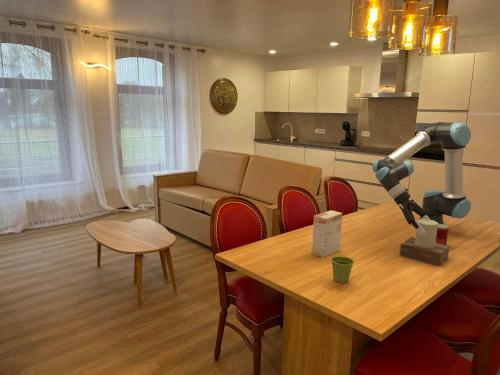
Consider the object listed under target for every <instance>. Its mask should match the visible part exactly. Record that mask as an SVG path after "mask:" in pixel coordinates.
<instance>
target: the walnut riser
mask: <svg viewBox="0 0 500 375" xmlns="http://www.w3.org/2000/svg"><path fill="white" fill-rule="evenodd" d="M415 238H416V237H412V236H411V237H409V238H408V239H406V240H405V241H403V242H400V248H399V249H400V250H399V256H401V257H404V258H407V259H411V260H414V261H419V262H422V263H427V264H430V265H434V266H436V267H437V266H438V267H440V266H441V265H442V264H444V262H446V260H448V258H449V252H450V245H447V244H446V245H443V244H438V243H435V247H434V248H424V247H420V246H417V245H415Z"/></svg>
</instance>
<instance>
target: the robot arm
mask: <svg viewBox="0 0 500 375" xmlns="http://www.w3.org/2000/svg"><path fill="white" fill-rule="evenodd" d="M471 139H472V132H471V129H470V127H469V125H467V124H466V123H463V122H446V121H445V122H442V121H438V122H433V123H431V124H429V125H427V126H424V128H421V129H420V130H419V131H418V132H417V133H416V134H415V136H414V137H412V138H411V139H409V140H408V141H407V142H405V143H404V144H402V145H401V146H400V147H398V148H397V149H395V150H394V151H393V152H392V153H390V154H389V155H387V156H386V157H385V158H383V159H376V160H374V162H373V163H372V165H371V168H372V171H373V172H374V173H375V174H374V175H375V178H376V179H377V181H378V183H379V184H380V185H381V186H382V187H383V188H384V190H385V191H386V192H387V193H388V196H389V197H390V198H392V199H393V202H394V203H395V204H396V205H397V206H398V207H399V209H400V210H401V212H402V214H403V216H404V219H405V221H406V222H407V224H408V225H409V226H410V225H412V226H413V228H414V229H415V231H416V230H417V232H418V233H419V234H420V235H422V234H424V233H425V230H424V229H423V228H422V227H421V225H420V224H419V223H418V222H417V220H416V219H415V216H414V213H415V214H416V215H418V216H419V218H418V220H419V219H428V220H433V221H436V222H438V224H444V225H445V222H444V218H443V217H444V216H447V217H450V218H452V219H453V218H454V219H459V220H460V219H463V218H465V217H467V216H468V214H469V212H470V211H471V208H472V203H471V200H470V199H467V194H466V192H464V186H463V184H464V181H463V180H464V177H463V176H464V175H463V174H464V172H463V171H464V170H463V169H464V168H463V167H464V166H463V162H464V161H463V160H464V159H463V152H464V151H463V150H464V149H466V147H467V146H466V145H468V144H469V143H470V140H471ZM433 144H440V145H441V150H442V151H444V175H445V176H444V178H445V179H444V180H445V186H444V188H445V190H426V191H424V193H423V197H422V206H420V205H419V204H418V203H416V201H415V200H414V199H413V198H411V194H409V192H408V191H406V188H405V187H404V186H403V185H402V183H401V182H400V181H402V180H404V179H406V178H407V177H409V176H410V175H412V174H413V173H414V172H415V168H414V165H413V163H412V162H410V161H409V160H408V159H409V158H410V157H412V156H414V154H417V152H419V151H420V150H422V149H423V148H425V147H429V146H430V145H433ZM410 198H411V199H410Z"/></svg>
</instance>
